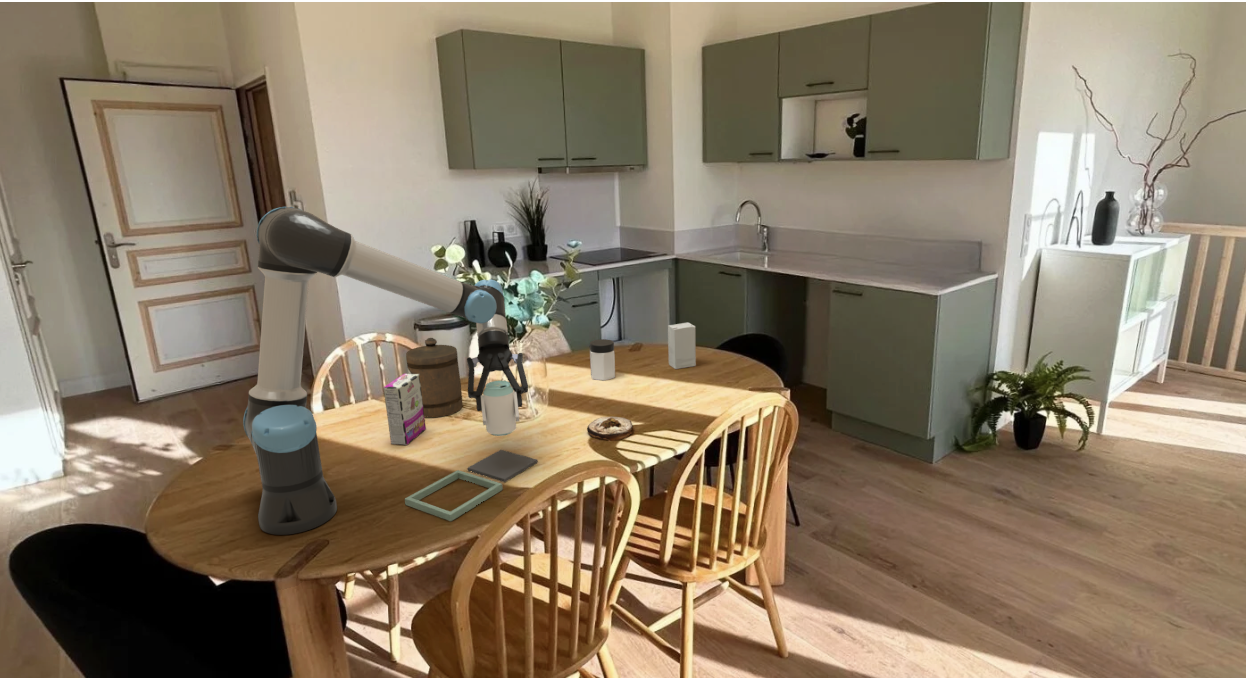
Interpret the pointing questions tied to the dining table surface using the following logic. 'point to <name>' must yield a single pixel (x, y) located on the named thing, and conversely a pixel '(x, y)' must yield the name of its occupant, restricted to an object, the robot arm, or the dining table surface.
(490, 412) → the can
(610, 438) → the sushi roll
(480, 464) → the coaster
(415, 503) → the corral
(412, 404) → the candy bar box
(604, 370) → the jar
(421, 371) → the wooden container
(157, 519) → the dining table surface
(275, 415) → the robot arm
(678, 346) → the skincare box
